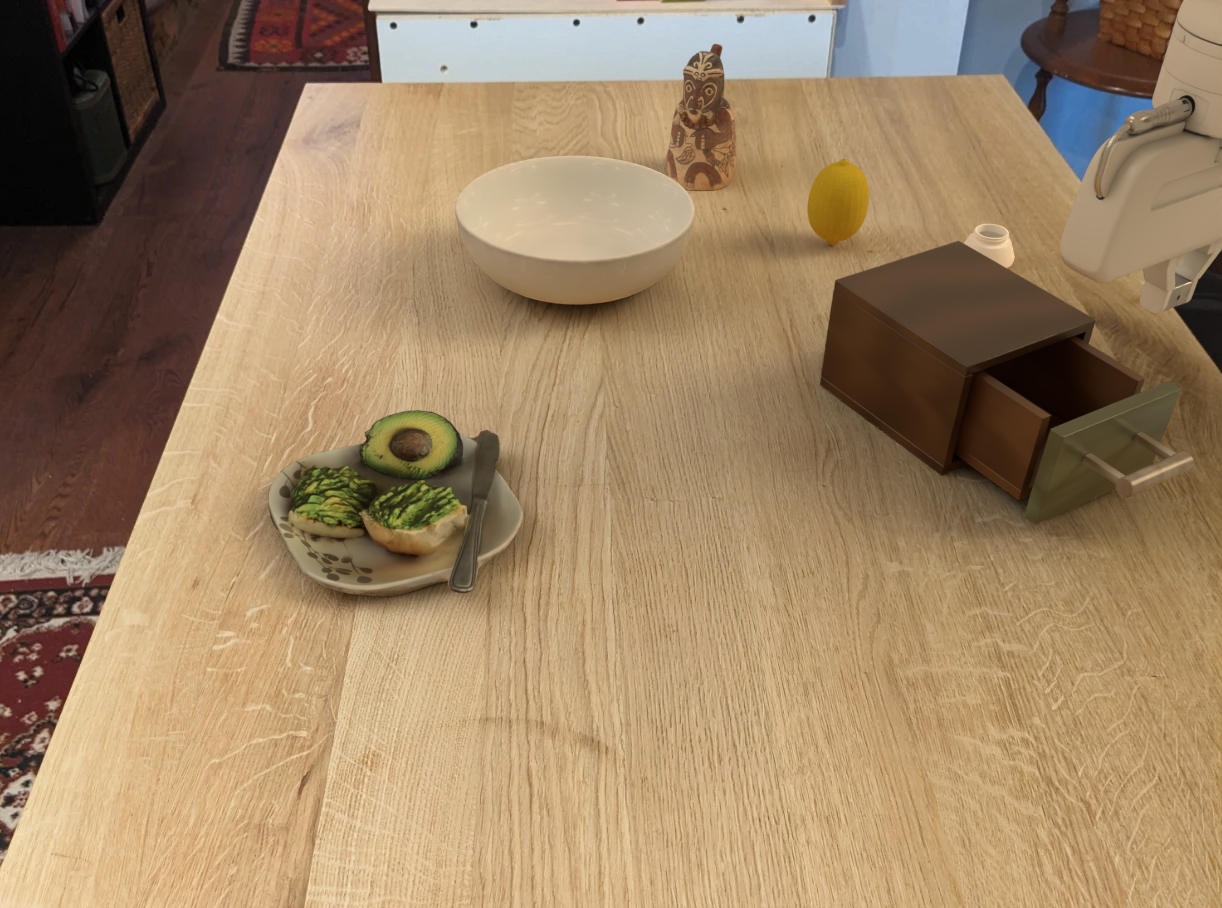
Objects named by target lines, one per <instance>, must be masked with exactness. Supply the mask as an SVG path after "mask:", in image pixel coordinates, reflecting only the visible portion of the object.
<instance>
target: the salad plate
mask: <svg viewBox="0 0 1222 908" xmlns="http://www.w3.org/2000/svg"><path fill="white" fill-rule="evenodd" d="M364 437H365V441H363V442H362V443H359V444H353V445H347V446H342V447H339V448H335V449H330V450H325V451H320V452H316V453H313V454H310V455H306V456H304V457H301V458H299V459H295V460H294V461H293V462H291V463H289V464H288V465H286V466H285V467H284V468H283V469H281V471H280V472H279V474H277V475H276V477H275V479H274V480H273V481H272V483H271V484H270V486H269V489H268V491H267V506H268V511H269V515H270V520H271V522H272V524H273V526H274V527H275V529H276V530H277V531H278V532H279V534H280V536H281V538H282V540H283V542H284V544H285V546H286V548H287V550H288V552H289V554H290V555H291V557H292V559H293V560H294V562H295V563H296V564H297V566H298V567H299V569H300V571H301V572H302V573H303V575H304V576H305V577H307V578H308V579H309V580H311V581H313V582H315V583H317V584H318V585H320V586H322V587H324V588H326V589H330V590H333V591H337V592H341V593H345V594H346V593H347V594H350V595H364V596H369V597H378V598H379V597H380V598H382V597H396V596H402V595H406V594H409V593H412V592H415V591H418V590H421V589H424V588H427V587H429V586H433V585H437V584H441V583H446V582H447V587H448V588H449V590H450V591H451V592H454V593H456V594H457V593H458V594H468V593H471V592H473V591H474V590H475V588H476V586H477V580H478V575H479V570H480V568H481V567H482V566H483V565H485V564H486V563H488V562H490V561H491V560H492V559H493V558H495V557H496V556H498V555H499V554H501V553H503V552H504V551H505V550H506V549H507V548H508V547H509V545H510V544H511V543H512V541H513V540H514V538H515V537H516V535H517V533H518V532H519V530H520V529H521V528H522V525H523V519H524V510H523V509H522V506H521V504H520V501H519V500H518V498H517V496H516V494H515V493H514V492H513V491H512V489H511V488H510V487H509V485H508V484H507V482H506V481H505V479H504V477H503V476H502V475H501V474H500V473H499V472H498V470H497V466H496V465H497V462H498V461H499V459H500V452H501V451H500V449H501V446H500V445H501V444H500V438H499V435H498V434H496V433H495V432H493V431H490V430H489V429H484V430H481V431H479V433H478V435H477V436H474V437H468V436H466V435H463V434H461V433H460V432H459V431H458V430H457V428H456V427H455V426H454V424H453V423H452V422H451V421H450V420H448V419H447V418H446V417H444V416H443V415H440V414H438V413H436V412H433V411H429V410H419V409H416V410H404V411H399V412H396V413H392V414H388V415H386V416H384V417H381V418H380V419H378V420H376V421H375V422H374V423H373V424H372V425H371V427H370V429H368V430H366V431H365V432H364Z"/></svg>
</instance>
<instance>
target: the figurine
mask: <svg viewBox="0 0 1222 908" xmlns="http://www.w3.org/2000/svg"><path fill="white" fill-rule="evenodd" d="M722 52H723V46H722V45H721V44H719V43H713V44H712V45H711V47H710V51H709V50H700V51H698V52H696V53H695V54H693V56H691V57H690V58H689V61H688V62H687V64H686V65H685V66H684V67H683V69H682V75H683V86H682V89H683V90H682V99H681V101H679V103H678V105H677V106H676V108H675V110H674V114H673V118H672V123H671V130H670V138H669V144H668V149H667V153H666V156H665V159H666V163H665V164H666V165H665V169H666V172H667V176H668V177H670V178H671V179H673V180H674V181H676V182H677V183H679V184H680V185H681V186H682V187H683V188H684V189H685V190H686V191H687V190H688V191H716V190H719V189H722V188H725V187H727V186H728V185H730V184H731V183H732V181H733V179H734V177H735V174H736V170H737V164H738V163H737V162H738V157H737V156H738V153H737V150H738V149H737V130H736V118H735V114H734V111H733V108H732V106H731V104H730V103H729V101H728V100H727V99H726V98H725V97H724V94H725V71H724V65H723V61H722V59H721V56H722Z"/></svg>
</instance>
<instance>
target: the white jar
mask: <svg viewBox="0 0 1222 908" xmlns="http://www.w3.org/2000/svg"><path fill="white" fill-rule="evenodd" d="M963 243H964V244H966V245H967V246H969V247H971V248H972V249H974V250H976V251H978V252H979V253H981V254H983V255H985V256H986V257H988V258H990V259H991V260H993V261H995V262H997V263H998V264H1000V265H1002V266H1004V267H1005V268H1007V269H1009V267H1011V266H1012V265H1013V263H1014V261H1015V259H1016V256H1015V252H1014V248H1013V243H1012V240H1011V238H1010V232H1009V230H1008V229H1007V228H1006V227H1004V226H1002V225H1000V224H996V223H982V224H979V225H977V226H976V227H975V228H974V230H973V232H971V233H970V234H969V235H968V236H967V238H966V239H965V241H964V242H963Z"/></svg>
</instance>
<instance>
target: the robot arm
mask: <svg viewBox="0 0 1222 908" xmlns="http://www.w3.org/2000/svg"><path fill="white" fill-rule="evenodd" d="M1151 102H1152V103H1151V104H1152V107H1153V108H1151V109H1142V110H1138V111H1135V112H1133V113H1131V114H1130V115H1128V116H1127V117H1126V118H1125V119H1124V121H1123V125H1122V126H1120V127H1119V128H1118V129H1117V130H1116V131H1115V132H1114V134H1112V136H1111V137H1108V138H1107V139H1106V140H1105V141H1104V143H1103V144H1102V145H1100V147H1098V149H1097V151H1096V152H1095V154H1094V155H1093V156H1092V159H1091V161H1090V162H1089V164H1088V166H1087V168H1086V171H1085V173H1084V175H1083V178H1082V180H1081V183H1080V185H1079V188H1078V190H1077V193H1076V195H1075V198H1074V201H1073V204H1072V206H1071V209H1070V211H1069V214H1068V218H1067V220H1066V223H1065V226H1064V230H1063V232H1062V235H1061V239H1060V242H1059V246H1058V247H1059V254H1060V257H1061V260H1062V263H1063V264H1064V265H1065V266H1066V267H1067V268H1069V269H1071V270H1073V271H1074V272H1076V273H1078V274H1079V275H1081V276H1083V277H1085V278H1087V279H1089V280H1091V281H1093V282H1096V283H1099V284H1106V283H1109V282H1113V281H1115V280H1118V279H1120V278H1124V277H1126V276H1129V275H1131V274H1133V273H1136V272H1140V271H1142V273H1143V278H1144V280H1145V281H1144V283H1143V287H1142V290H1141V292H1140V296H1139V305H1140V307H1141V308H1142V309H1144V310H1146V311H1147V312H1149V313H1152V314H1153V315H1158V314H1162V313H1164V312H1166V311H1169V310H1171V309H1173V308H1176V307H1178V306H1181V305H1184V304H1187V303H1189V302H1190V301H1191V300H1192V298H1193V295H1194V292H1195V290H1196V288H1197V284H1198V281H1199V280H1200V279H1201V278H1202V276H1204V273H1206V272H1207V270H1208V268H1209V267H1210V266H1211V264H1212V263H1213V262H1214V260H1216V258H1217V256H1218V255H1220V253H1221V252H1222V0H1183V1H1182V2H1181V4H1180V7H1179V9H1178V11H1177V15H1176V18H1175V21H1174V25H1173V27H1172V32H1171V35H1170V38H1169V41H1168V45H1167V48H1166V50H1165V55H1164V59H1163V61H1162V64H1161V68H1160V70H1159V74H1158V78H1157V80H1156V85H1155V88H1154V91H1153V95H1152V99H1151Z"/></svg>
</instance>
